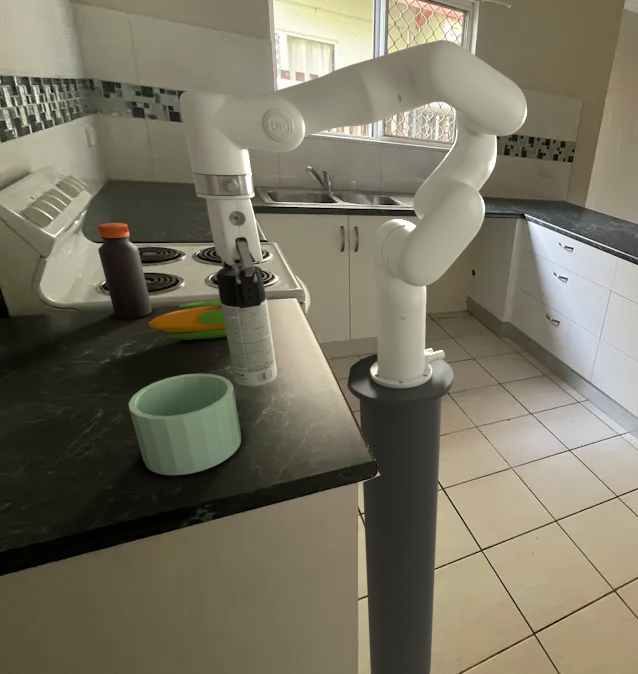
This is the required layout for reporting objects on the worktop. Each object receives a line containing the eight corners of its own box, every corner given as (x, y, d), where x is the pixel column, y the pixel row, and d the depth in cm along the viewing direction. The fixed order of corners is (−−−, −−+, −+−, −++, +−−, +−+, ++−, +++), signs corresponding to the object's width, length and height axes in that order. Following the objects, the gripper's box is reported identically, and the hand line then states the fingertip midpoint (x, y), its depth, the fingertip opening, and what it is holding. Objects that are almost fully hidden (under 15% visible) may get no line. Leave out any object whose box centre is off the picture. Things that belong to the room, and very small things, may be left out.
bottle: (156, 314, 108) (136, 227, 100) (119, 321, 103) (95, 229, 95) (147, 306, 112) (127, 221, 104) (111, 312, 107) (88, 223, 99)
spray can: (281, 369, 87) (266, 263, 79) (273, 388, 81) (255, 276, 73) (241, 370, 86) (222, 263, 77) (230, 389, 80) (207, 275, 71)
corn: (256, 303, 99) (139, 311, 91) (260, 337, 102) (147, 348, 93) (256, 294, 105) (146, 300, 97) (260, 326, 108) (154, 335, 99)
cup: (230, 416, 76) (222, 366, 72) (250, 455, 68) (242, 401, 64) (139, 440, 68) (124, 386, 65) (149, 487, 60) (133, 429, 57)
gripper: (269, 194, 66) (284, 312, 74) (238, 177, 78) (254, 281, 85) (207, 195, 62) (230, 321, 69) (184, 178, 73) (206, 287, 81)
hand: (243, 298), depth 77 cm, fingers closed on spray can, 6 cm apart
